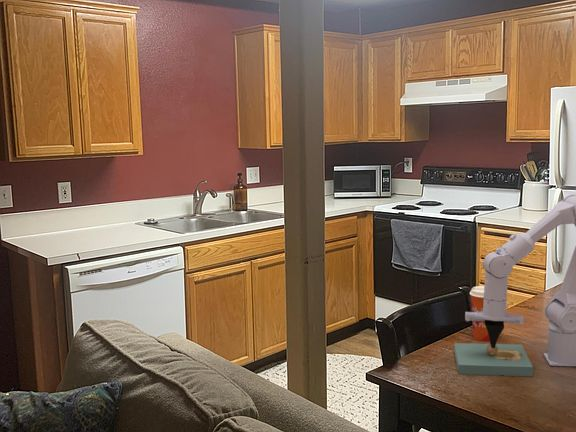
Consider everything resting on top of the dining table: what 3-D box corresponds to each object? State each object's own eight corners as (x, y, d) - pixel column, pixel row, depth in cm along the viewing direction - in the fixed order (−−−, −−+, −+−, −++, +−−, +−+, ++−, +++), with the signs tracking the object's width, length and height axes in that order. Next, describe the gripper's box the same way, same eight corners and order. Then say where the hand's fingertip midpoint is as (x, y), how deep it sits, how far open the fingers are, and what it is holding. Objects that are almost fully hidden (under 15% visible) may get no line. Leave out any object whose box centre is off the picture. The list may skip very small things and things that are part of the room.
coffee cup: (468, 341, 181) (468, 291, 179) (471, 332, 189) (470, 284, 187) (498, 343, 178) (498, 293, 176) (499, 334, 186) (500, 286, 184)
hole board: (521, 353, 170) (521, 344, 170) (532, 376, 155) (532, 367, 154) (454, 351, 174) (454, 343, 173) (458, 374, 158) (458, 364, 158)
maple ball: (483, 348, 166) (493, 354, 165) (484, 352, 163) (494, 359, 162) (490, 339, 165) (499, 346, 164) (490, 343, 162) (500, 350, 162)
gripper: (521, 296, 164) (518, 344, 166) (465, 292, 167) (462, 341, 169) (526, 303, 157) (523, 354, 159) (467, 299, 160) (465, 350, 162)
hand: (492, 348), depth 163 cm, fingers closed, pressing on maple ball
